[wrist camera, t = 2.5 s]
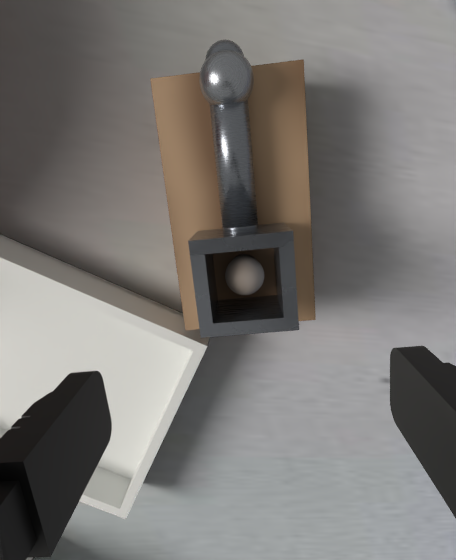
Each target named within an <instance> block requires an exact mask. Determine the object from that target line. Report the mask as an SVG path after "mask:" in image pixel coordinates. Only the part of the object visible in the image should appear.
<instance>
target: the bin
mask: <svg viewBox="0 0 456 560" xmlns="http://www.w3.org/2000/svg"><path fill="white" fill-rule="evenodd" d="M208 342H209V337H205V338H201V337H200V329H196V330H185V323H184V316H183V313H181V312H178V311H176V310H174V309H171V308H169V307H167V306H164V305H162V304H160V303H158V302H155V301H153V300H151V299H148V298H146V297H144V296H141V295H139V294H137V293H135V292H132V291H130V290H128V289H125V288H123V287H121V286H118V285H116V284H114V283H111V282H109V281H107V280H105V279H102V278H100V277H98V276H95V275H93V274H91V273H88V272H86V271H84V270H81V269H79V268H77V267H75V266H72V265H70V264H68V263H65V262H63V261H61V260H58V259H56V258H54V257H51V256H49V255H47V254H45V253H42V252H40V251H38V250H35V249H33V248H31V247H28V246H26V245H24V244H21V243H19V242H17V241H15V240H12V239H10V238H8V237H5V236H3V235H1V234H0V438H1V437H2V436H3V435H4V434H5V433H6V432H7V431H8V430H11V426H12V425H13V424H14V423H15V422H16V421H17V420H18V419H21V416H22V415H23V414H24V413H25V412H26V411H27V410H28V408H29V407H30V406H31V405H32V404H33V403H35V402H36V401H38V400H39V399H41V398H42V397H44V396H45V395H47V394H48V393H50V392H53V391H54V390H55V388H56V387H57V386H58V385H59V384H60V383H61V382H62V381H63V380H64V379H65V377H66V376H67V375H68V374H70V373H74V372H87V371H99V372H100V373H101V375H102V378H103V382H104V387H105V391H106V396H107V401H108V406H109V410H110V415H111V421H112V431H111V437H110V441H109V443H108V446H107V448H106V449H105V451H104V453H103V455H102V457H101V459H100V461H99V463H98V465H97V467H96V469H95V471H94V473H93V475H92V477H91V479H90V481H89V483H88V485H87V486H86V488H85V490H84V492H83V494H82V496H81V498H80V500H79V501H80V502H82V503H85V504H88V505H90V506H93V507H95V508H98V509H100V510H103V511H106V512H108V513H111V514H113V515H116V516H119V517H121V518H124V519H126V517H127V515H128V513H129V511H130V509H131V507H132V505H133V503H134V501H135V498H136V496H137V494H138V492H139V490H140V488H141V486H142V484H143V481H144V479H145V477H146V475H147V473H148V471H149V469H150V467H151V465H152V462H153V460H154V458H155V456H156V454H157V452H158V450H159V448H160V446H161V443H162V441H163V439H164V437H165V435H166V433H167V431H168V429H169V427H170V424H171V422H172V420H173V418H174V416H175V414H176V412H177V410H178V408H179V405H180V403H181V401H182V399H183V397H184V395H185V393H186V391H187V389H188V386H189V384H190V382H191V380H192V378H193V376H194V374H195V372H196V370H197V367H198V365H199V363H200V361H201V359H202V357H203V355H204V353H205V351H206V348H207V346H208Z"/></svg>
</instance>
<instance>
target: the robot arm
mask: <svg viewBox="0 0 456 560" xmlns="http://www.w3.org/2000/svg"><path fill="white" fill-rule="evenodd" d="M390 406H391V411H392V415H393V418H394V421H395V423H396V425H397V427H398V428H399V430H400V431H401V433H402V435H403V436H404V438H405V439H406V441H407V442H408V444H409V446H410V447H411V449H412V450H413V452H414V453H415V455H416V457H417V458H418V460H419V461H420V463H421V464H422V466H423V468H424V469H425V471H426V472H427V474H428V475H429V477H430V478H431V480H432V482H433V483H434V485H435V486H436V488H437V489H438V491H439V493H440V494H441V496H442V497H443V499H444V500H445V502H446V504H447V505H448V507H449V508H450V510H451V511H452V513H453V515H454V516H455V518H456V366H454V365H452V364H450V363H443V362H441V361H440V360H439V359H438V358H437V357H436V356H435V355H434V354H433V353H431V352H430V351H429V350H428V349H427V348H426V347H424V346H414V347H401V348H393V349H392V351H391V355H390ZM111 431H112V421H111V415H110V410H109V406H108V401H107V396H106V391H105V387H104V382H103V378H102V375H101V373H100V372H99V371H87V372H74V373H70V374H68V375H67V376H66V377H65V379H64V380H63V381H62V382H61V383H60V384H59V385H58V386H57V387H56V388H55V390H54V391H53V392H50V393H48V394H47V395H45V396H44V397H42V398H41V399H39V400H38V401H36V402H35V403H33V404H32V405H31V406H30V407H29V408H28V410H27V411H26V412H25V413H24V414H23V415H22V416H21V419H18V420H17V421H16V422H15V423H14V424H13V425H12V426H11V430H8V431H7V432H6V433H5V434H4V435H3V436H2V437H1V438H0V560H26V559H27V558H30V557H51V555H52V553H53V551H54V549H55V547H56V545H57V543H58V541H59V539H60V537H61V535H62V533H63V531H64V529H65V527H66V525H67V523H68V522H69V520H70V518H71V516H72V514H73V512H74V510H75V508H76V506H77V504H78V502H79V500H80V498H81V496H82V494H83V492H84V490H85V488H86V486H87V485H88V483H89V481H90V479H91V477H92V475H93V473H94V471H95V469H96V467H97V465H98V463H99V461H100V459H101V457H102V455H103V453H104V451H105V449H106V448H107V446H108V443H109V441H110V437H111Z"/></svg>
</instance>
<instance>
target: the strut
mask: <svg viewBox="0 0 456 560" xmlns="http://www.w3.org/2000/svg"><path fill="white" fill-rule="evenodd" d="M199 83H200V89H201V92H202V94H203V96H204V98H205V99H206V101H207V102H208V103H209V104H210V114H211V123H212V133H213V142H214V152H215V161H216V171H217V180H218V190H219V199H220V209H221V218H222V227H223V228H222V229H212V230H202V231H197V232H196V233H195V234H194V235H193V236H192V237H191V238H190V239H189V240H188V245H189V252H190V260H191V268H192V275H193V283H194V291H195V299H196V306H197V314H198V322H199V329H200V337H201V338H205V337H217V336H230V335H242V334H255V333H267V332H280V331H292V330H299V321H298V304H297V287H296V270H295V253H294V235H293V230H292V229H291V228H290V227H289V226H288V225H286V224H285V223H284V222H283V223H273V224H263V225H258V217H257V204H256V192H255V180H254V167H253V155H252V143H251V131H250V118H249V106H248V98H249V97H250V95H251V92H252V90H253V85H254V76H253V71H252V68H251V65H250V63H249V62H248V60H247V59H246V58H245V57H244V55H243V52H242V50H241V48H240V47H239V46H238V45H237V44H236V43H234V42H233V41H230V40H220V41H217V42H216V43H214V44H213V45H212V46H211V47H210V49H209V50H208V52H207V55H206V59H205V62H204V64H203V66H202V68H201V71H200V77H199ZM266 248H273V249H274V263H275V277H276V290H277V295H270V296H259V297H247V298H236V299H224V300H218V296H217V288H216V279H215V270H214V261H213V253H223V252H234V251H245V250H255V249H266Z"/></svg>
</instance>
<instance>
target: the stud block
mask: <svg viewBox="0 0 456 560" xmlns="http://www.w3.org/2000/svg"><path fill="white" fill-rule="evenodd" d="M251 68H252V71H253V76H254V85H253V90H252V92H251V95H250V97H249V98H248V106H249V118H250V131H251V143H252V155H253V167H254V180H255V192H256V204H257V217H258V225H263V224H273V223H283V222H284V223H285V224H286V225H288V226H289V227H290V228H291V229H292V230H293V235H294V253H295V270H296V287H297V304H298V321H306V320H316V319H315V297H314V275H313V254H312V232H311V211H310V189H309V167H308V146H307V124H306V103H305V81H304V60H296V61H288V62H280V63H272V64H264V65H256V66H251ZM199 77H200V73H192V74H184V75H176V76H168V77H160V78H152V79H150V80H151V87H152V94H153V101H154V108H155V116H156V123H157V130H158V137H159V144H160V151H161V159H162V166H163V173H164V180H165V187H166V194H167V202H168V209H169V216H170V223H171V230H172V237H173V245H174V252H175V259H176V266H177V273H178V280H179V288H180V295H181V302H182V309H183V316H184V323H185V330H196V329H199V322H198V314H197V306H196V299H195V291H194V283H193V275H192V268H191V260H190V252H189V245H188V240H189V239H190V238H191V237H192V236H193V235H194V234H195V233H196V232H197V231H202V230H212V229H222V228H223V227H222V218H221V209H220V199H219V190H218V180H217V171H216V161H215V152H214V142H213V133H212V123H211V114H210V104H209V103H208V102H207V101H206V99H205V98H204V96H203V94H202V92H201V89H200V83H199ZM213 261H214V270H215V279H216V288H217V296H218V300H224V299H236V298H247V297H259V296H270V295H277V290H276V277H275V263H274V249H273V248H266V249H255V250H245V251H234V252H223V253H213Z"/></svg>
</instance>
